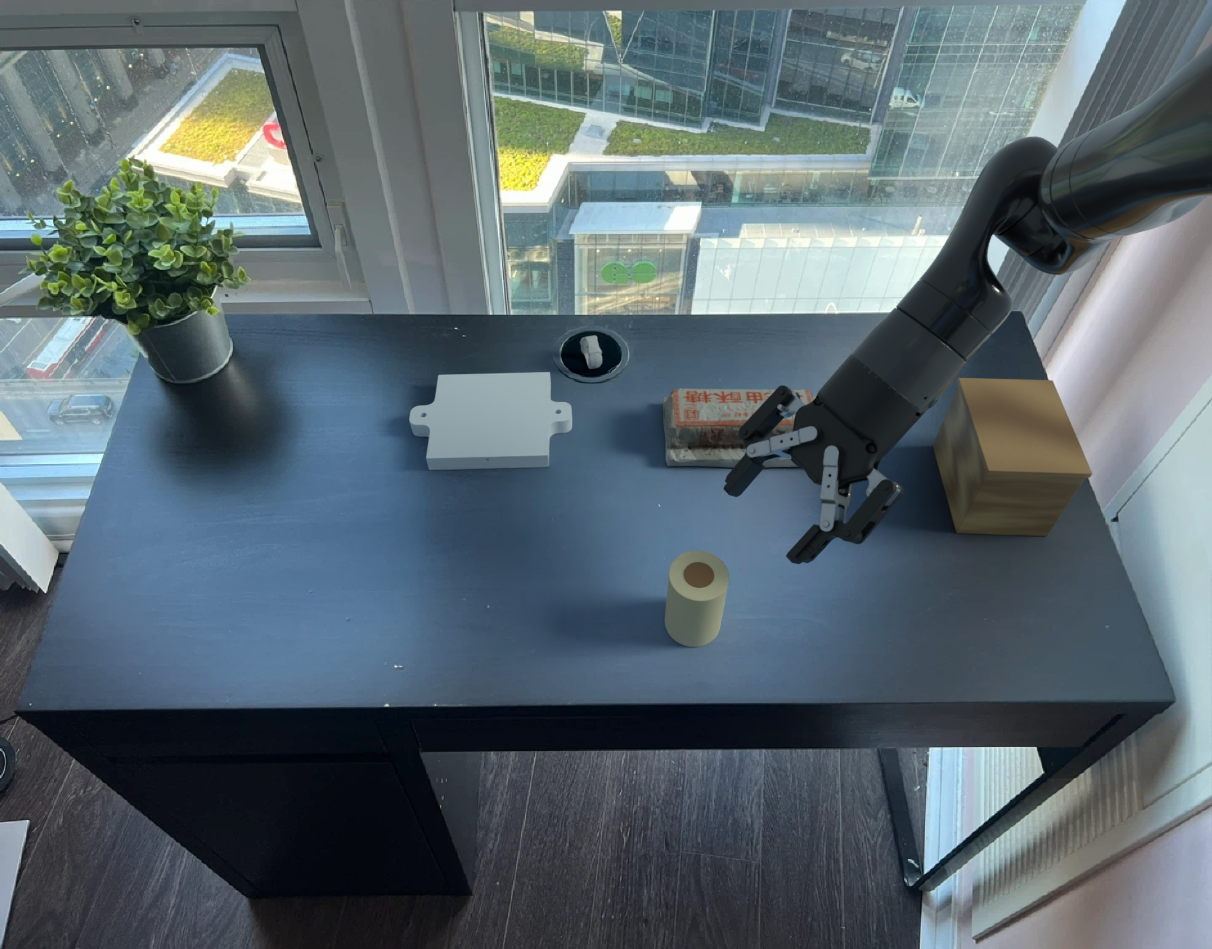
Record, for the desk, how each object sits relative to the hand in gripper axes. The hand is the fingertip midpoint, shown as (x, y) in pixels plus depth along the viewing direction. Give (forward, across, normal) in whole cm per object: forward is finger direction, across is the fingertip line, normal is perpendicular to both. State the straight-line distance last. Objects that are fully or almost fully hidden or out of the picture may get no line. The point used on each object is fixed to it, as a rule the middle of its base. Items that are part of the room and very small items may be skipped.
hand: (760, 526), depth 73 cm
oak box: (-13, +4, +28) cm, 31 cm away
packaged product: (-1, -16, +16) cm, 23 cm away
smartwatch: (+4, -35, +11) cm, 37 cm away
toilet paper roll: (+12, 0, +3) cm, 12 cm away
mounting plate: (+15, -33, 0) cm, 36 cm away
